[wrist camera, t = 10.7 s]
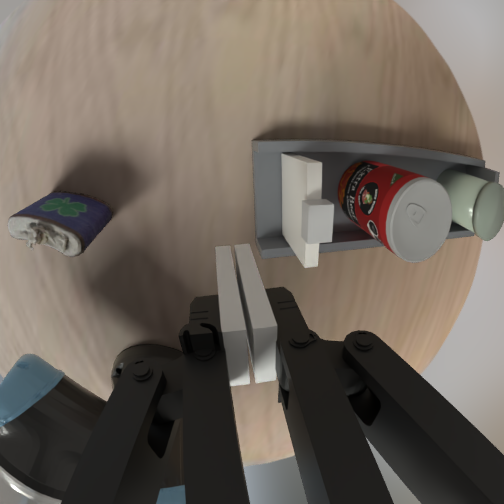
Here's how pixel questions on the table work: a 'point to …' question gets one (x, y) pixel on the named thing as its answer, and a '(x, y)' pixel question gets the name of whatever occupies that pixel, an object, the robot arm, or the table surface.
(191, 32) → the table surface
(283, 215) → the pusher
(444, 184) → the green jar
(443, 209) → the canned food
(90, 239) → the flask
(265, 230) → the lane
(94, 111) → the table surface
